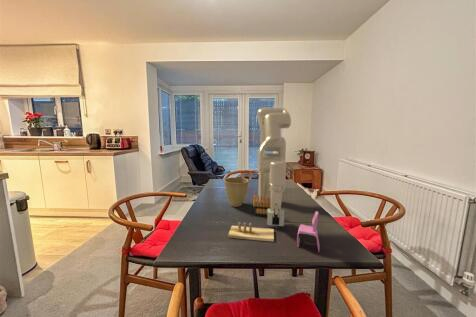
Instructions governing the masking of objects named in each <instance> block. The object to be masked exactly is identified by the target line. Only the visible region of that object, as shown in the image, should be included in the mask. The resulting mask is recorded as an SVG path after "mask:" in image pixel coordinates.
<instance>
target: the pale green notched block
mask: <svg viewBox="0 0 476 317" xmlns="http://www.w3.org/2000/svg"><path fill="white" fill-rule="evenodd" d="M274 210H275V209H274ZM274 213H275V212H274ZM272 216H273V211H270V209H268V216H266V218H267V219H266V222H267V223H266V225H267V226H275V227H285V209H283V208H281V211H280V212H279V225H273V224H272Z"/></svg>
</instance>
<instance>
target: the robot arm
mask: <svg viewBox="0 0 476 317" xmlns="http://www.w3.org/2000/svg"><path fill="white" fill-rule="evenodd" d="M256 116H257V122H258V125H259V127H260V128H259V130H260V134H259V135H260V140H259V142H260V144H259V145H260V146H259V148H258V149H257V155H256V156H257V158H256V159H257V169H258V191H257V192H258V193H257V195H258V194H259V204H260V196H261V194H262V202H263V197H264V195H265V200H267V195H268V197H269V202H270V211H273V216H272V224H273V225H272V226H274V225H279V212H280V211H281V209H282V201H283V198H282V197H283V192H284V191H285V188H286V175H287V174H286V171H287V162H286V156H287V155H286V153H287V152H286V151H287V150H286V148H287V147H286V146H287V143H286V139H285V137H283V136H282V134H281V132H282V131H281V129H289V128H290V127H291V124H292V118H291V114H290V113H289V111H288V110H287V109H286V108H285V107H263V108H260V109H258V110H257V114H256ZM264 152H265V153H264ZM266 152H269V153H266ZM271 152H272V153H271ZM273 152H277V153H273ZM270 196H271V199H270ZM256 202H257V197H256ZM274 209H275V210H274ZM274 212H275V213H274Z"/></svg>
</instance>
